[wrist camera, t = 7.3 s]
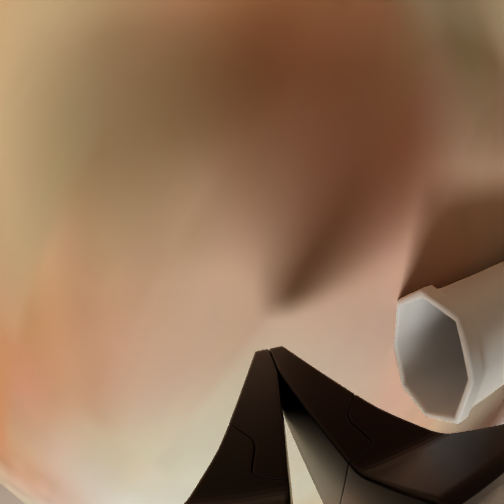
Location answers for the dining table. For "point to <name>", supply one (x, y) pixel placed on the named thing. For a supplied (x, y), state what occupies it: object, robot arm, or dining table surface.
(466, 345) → the tube
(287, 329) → the dining table surface
